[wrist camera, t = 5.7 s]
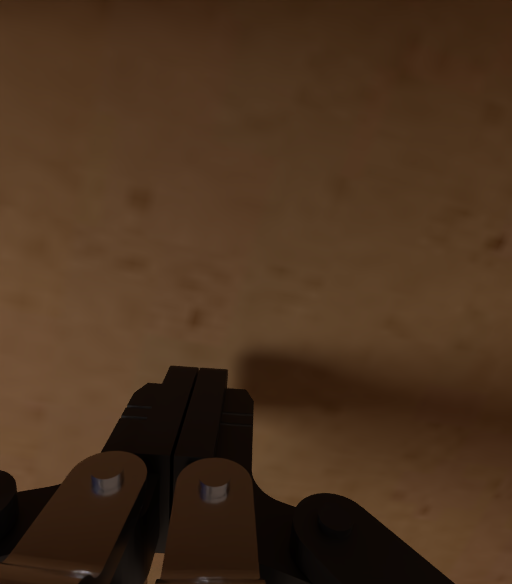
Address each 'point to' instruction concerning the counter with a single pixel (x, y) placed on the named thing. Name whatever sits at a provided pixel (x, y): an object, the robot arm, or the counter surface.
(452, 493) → the counter surface
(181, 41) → the counter surface
